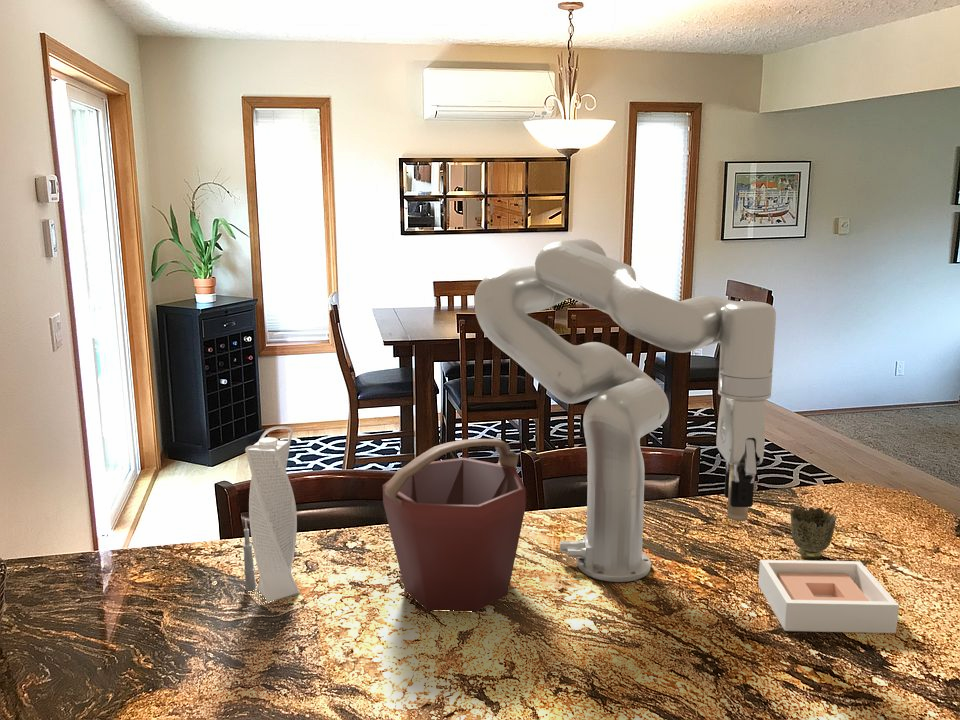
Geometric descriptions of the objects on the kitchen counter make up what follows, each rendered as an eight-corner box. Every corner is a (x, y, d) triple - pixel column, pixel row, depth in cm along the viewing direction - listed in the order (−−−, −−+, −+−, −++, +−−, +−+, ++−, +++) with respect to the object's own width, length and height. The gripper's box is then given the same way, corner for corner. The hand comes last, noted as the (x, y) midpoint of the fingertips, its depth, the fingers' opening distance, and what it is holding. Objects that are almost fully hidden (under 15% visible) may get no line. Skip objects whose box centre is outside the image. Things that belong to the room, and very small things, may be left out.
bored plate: (799, 619, 120) (800, 607, 120) (776, 584, 131) (777, 572, 131) (874, 621, 120) (876, 608, 119) (846, 585, 130) (847, 573, 130)
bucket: (504, 549, 147) (503, 417, 142) (556, 607, 127) (557, 455, 122) (372, 572, 139) (366, 433, 134) (405, 637, 119) (399, 476, 113)
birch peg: (729, 521, 123) (733, 458, 121) (725, 513, 126) (728, 452, 124) (749, 521, 123) (753, 458, 121) (744, 513, 126) (748, 452, 124)
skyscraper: (292, 576, 138) (281, 419, 132) (311, 595, 132) (301, 431, 126) (243, 590, 134) (230, 428, 128) (261, 611, 127) (248, 441, 121)
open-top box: (784, 630, 119) (786, 602, 118) (758, 585, 133) (759, 559, 132) (896, 633, 118) (899, 605, 117) (857, 586, 132) (860, 561, 131)
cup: (825, 548, 146) (828, 506, 144) (838, 566, 139) (842, 523, 137) (782, 546, 147) (785, 505, 145) (793, 565, 140) (797, 521, 138)
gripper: (707, 372, 128) (702, 482, 132) (732, 399, 112) (725, 523, 116) (755, 372, 128) (749, 482, 132) (787, 399, 112) (779, 523, 116)
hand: (738, 500), depth 124 cm, fingers closed on birch peg, 3 cm apart
